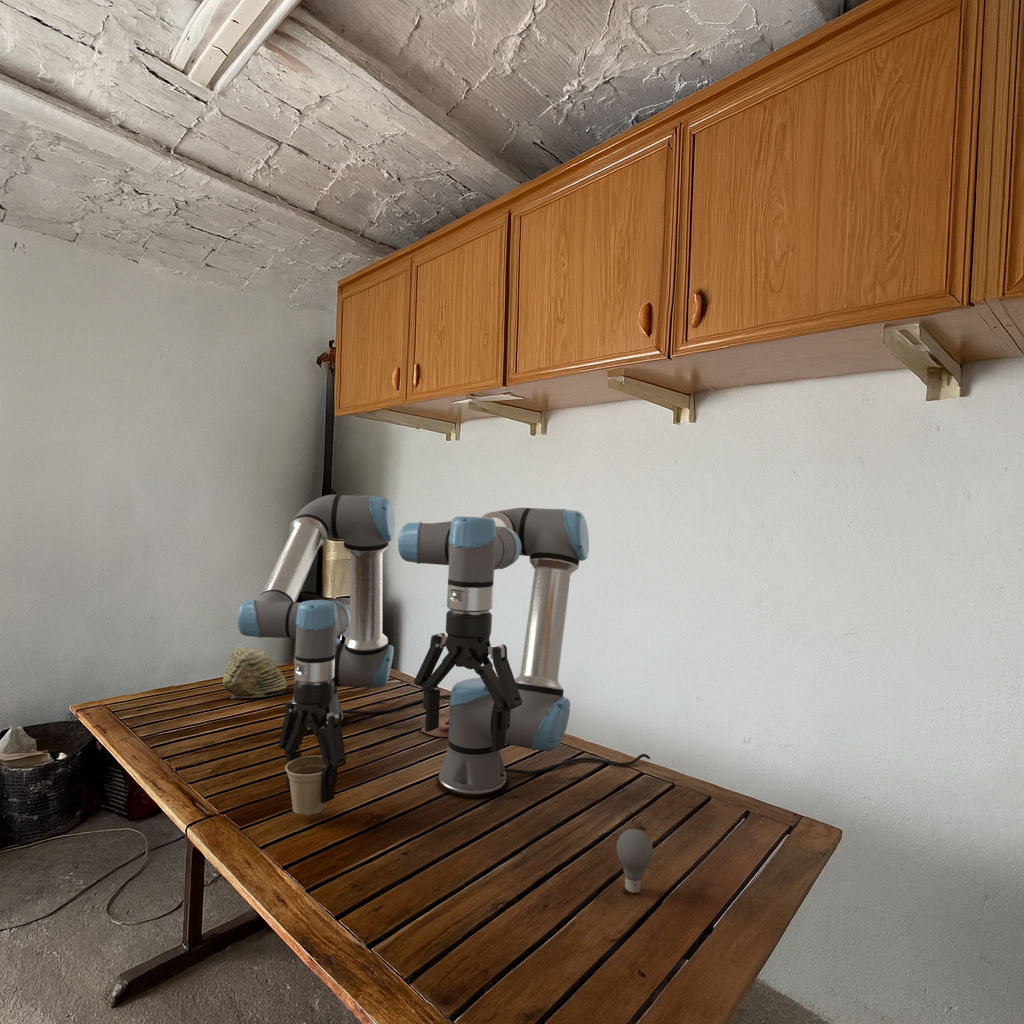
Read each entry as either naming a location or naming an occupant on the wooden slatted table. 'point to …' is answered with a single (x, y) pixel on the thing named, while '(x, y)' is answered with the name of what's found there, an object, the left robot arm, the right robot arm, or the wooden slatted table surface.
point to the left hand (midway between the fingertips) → (309, 793)
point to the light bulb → (634, 857)
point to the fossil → (252, 674)
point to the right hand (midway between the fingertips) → (463, 738)
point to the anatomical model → (440, 729)
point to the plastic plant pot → (306, 784)
